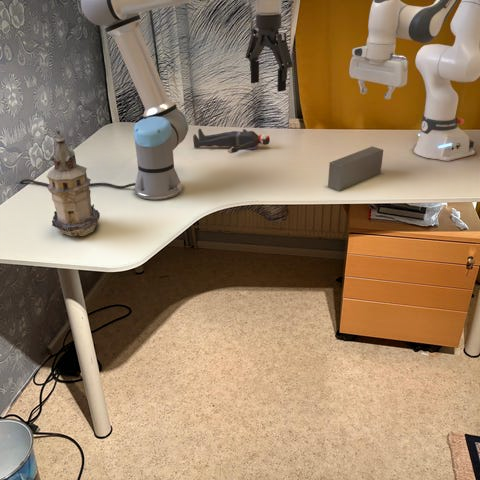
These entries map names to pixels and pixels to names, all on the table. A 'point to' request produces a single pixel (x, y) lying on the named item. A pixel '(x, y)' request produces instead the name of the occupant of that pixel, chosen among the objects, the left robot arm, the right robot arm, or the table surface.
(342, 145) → the table surface
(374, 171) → the bar
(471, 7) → the right robot arm
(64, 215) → the miniature building
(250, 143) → the toy
